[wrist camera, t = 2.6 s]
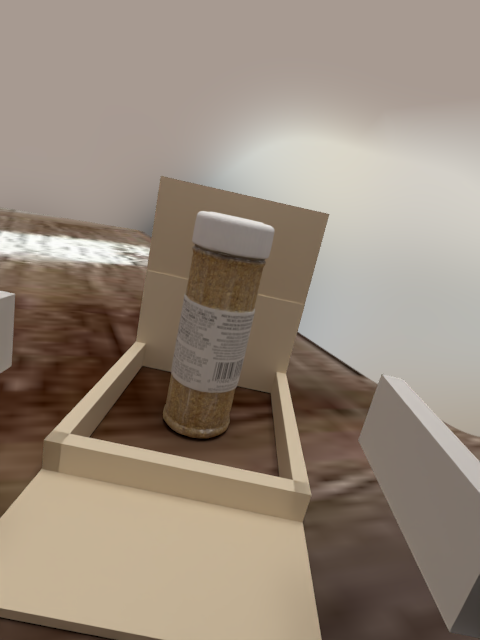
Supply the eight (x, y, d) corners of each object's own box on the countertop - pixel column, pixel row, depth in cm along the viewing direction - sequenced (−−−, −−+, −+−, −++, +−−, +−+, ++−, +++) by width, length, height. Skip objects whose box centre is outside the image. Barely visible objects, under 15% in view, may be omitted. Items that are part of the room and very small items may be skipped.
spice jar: (211, 401, 28) (251, 219, 24) (240, 437, 24) (292, 229, 20) (152, 405, 25) (186, 205, 22) (173, 446, 22) (218, 213, 18)
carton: (323, 679, 12) (514, 207, 8) (-65, 605, 12) (-73, 72, 8) (279, 390, 32) (327, 214, 28) (135, 360, 31) (163, 176, 27)
